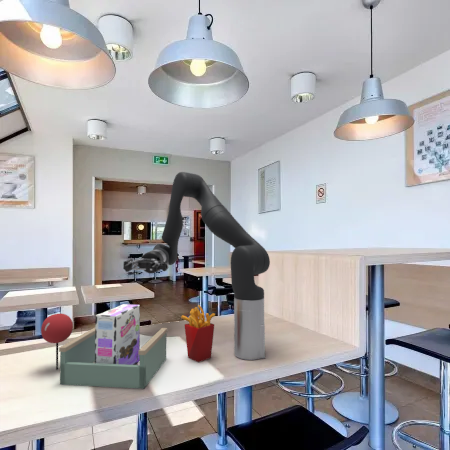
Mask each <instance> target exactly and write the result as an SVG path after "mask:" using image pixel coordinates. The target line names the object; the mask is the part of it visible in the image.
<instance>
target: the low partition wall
mask: <svg viewBox="0 0 450 450" xmlns="http://www.w3.org/2000/svg"><path fill="white" fill-rule="evenodd" d="M167 333H168V328H167V327H161V328H160V329H159V330H158V331H157V332H156V333H155V334H154V335H153V336H152V337H150V339H149V340H148V341H147V342H146V343H145V344H144V345H142V346H141V347H140V349H139V350H138V355H139V362H138V364H135V365H126V364H103V363H95V327H93V328H92V329H89V330H87V331H86V332H84V333H83V334H81V335H79V336H77V337H75V338H74V339H71V340H70V341H68V342H66V343H64V344H63V345H61V346H58V353H59V352H60V354H59V357H60V360H59V368H60V369H59V385H66V386H84V387H87V386H88V387H104V388H105V387H106V388H122V389H142V390H143V389H146V387H147V386H148V384H149V383H150V382H151V380H152V379H153V377H154V376H155V375H156V374H157V373H158V371H159V369H160V368H161V367H162V366H163V364H164V363H165V362H166V360H167Z"/></svg>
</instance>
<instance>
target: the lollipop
mask: <svg viewBox="0 0 450 450" xmlns="http://www.w3.org/2000/svg"><path fill="white" fill-rule="evenodd" d="M73 325H74V324H73V320H72V318H71V317H70V315H68V314H65V313H54V314H51V315H49V316H47V317H46V318H45V319H44V320H43V322H42V324H41V328H40V333H41V337H42V338H43V340H44V341H46V342H47V343H50V344H55V345H56V346H55V370H59V344H60V343H62V342H64V341H66V340H68V339H69V338H70V336H71V335H72V333H73V330H74V329H73V328H74V326H73Z"/></svg>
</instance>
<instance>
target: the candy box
mask: <svg viewBox="0 0 450 450" xmlns="http://www.w3.org/2000/svg"><path fill="white" fill-rule="evenodd" d="M140 307H141V306H140V304H130V303H129V304H126V303H125V304H124V303H123V304H121V305H118V306H117V307H113V308H111V309H108V310H106V311H104V312H101V313H98V314H95V326H94V328H95V362H94V363H103V364H126V365H137V363H139V355H138V350H139V349H141V347H140V345H141V344H140V343H141V341H140V340H141V337H140V336H141V334H140V333H141V332H140V331H141V330H140V328H141V327H140V326H141V324H140V323H141V321H140V319H141V318H140V317H141V315H140V309H141V308H140Z"/></svg>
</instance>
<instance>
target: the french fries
mask: <svg viewBox="0 0 450 450" xmlns="http://www.w3.org/2000/svg"><path fill="white" fill-rule="evenodd" d="M215 316H216V313H213V312H212V313H211V314H209V313H207V312H206V313H205V311H204V309H203V307H202V306H201V304H198V305H197V307H194V308H191V310H190V312H189V316H188V317H187V316H186V315H183V314H182V315H181V318H180V319H182V320H184V321H186V322H188V323H185V324H184V331H185V342H186V343H185V344H186V351H187V352H186V353H187V358H188V359H190V360H192V361H194V362H196V363H201V362H203V361H206V360H208V359H211V358H212V351H213V342H214V341H213V340H214V333H215V332H214V331H215V324H214V323H211V320H212V319H213V318H214V317H215ZM205 318H206V319H205Z"/></svg>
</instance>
